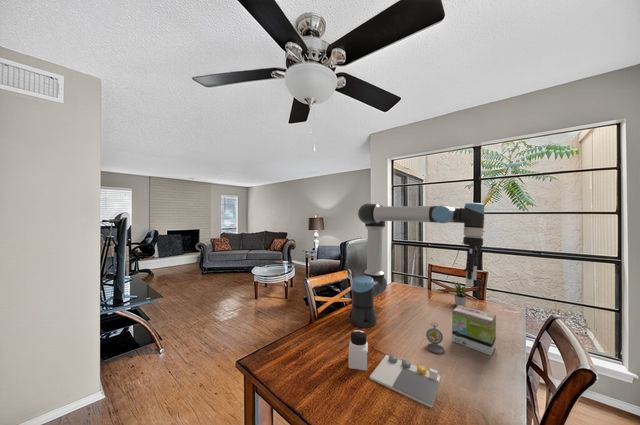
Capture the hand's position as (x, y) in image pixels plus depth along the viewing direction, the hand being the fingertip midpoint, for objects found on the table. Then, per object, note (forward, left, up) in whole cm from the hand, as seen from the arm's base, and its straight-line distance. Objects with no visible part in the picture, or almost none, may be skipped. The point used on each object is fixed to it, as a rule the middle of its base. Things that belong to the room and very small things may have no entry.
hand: (471, 282), depth 105 cm
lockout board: (-17, -43, -27) cm, 53 cm away
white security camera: (-34, -45, -28) cm, 63 cm away
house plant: (-10, +48, -27) cm, 57 cm away
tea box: (+1, -2, -28) cm, 28 cm away
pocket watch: (-12, -16, -28) cm, 34 cm away
